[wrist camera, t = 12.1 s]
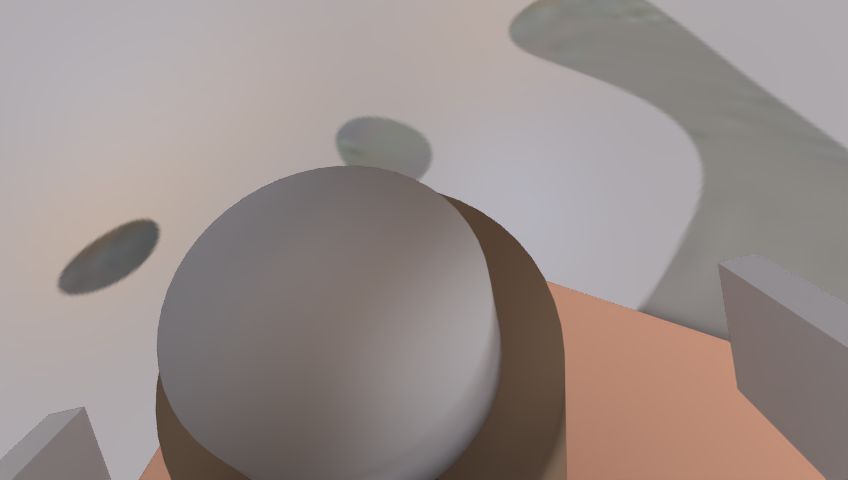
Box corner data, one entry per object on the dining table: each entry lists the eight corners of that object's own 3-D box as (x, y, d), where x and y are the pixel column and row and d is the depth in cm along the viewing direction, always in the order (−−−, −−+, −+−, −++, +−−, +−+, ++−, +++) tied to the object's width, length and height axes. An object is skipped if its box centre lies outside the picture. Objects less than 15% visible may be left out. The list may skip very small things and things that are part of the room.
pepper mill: (297, 569, 23) (-3, 434, 11) (398, 365, 25) (248, 80, 14) (516, 684, 20) (437, 672, 8) (599, 443, 23) (630, 179, 11)
